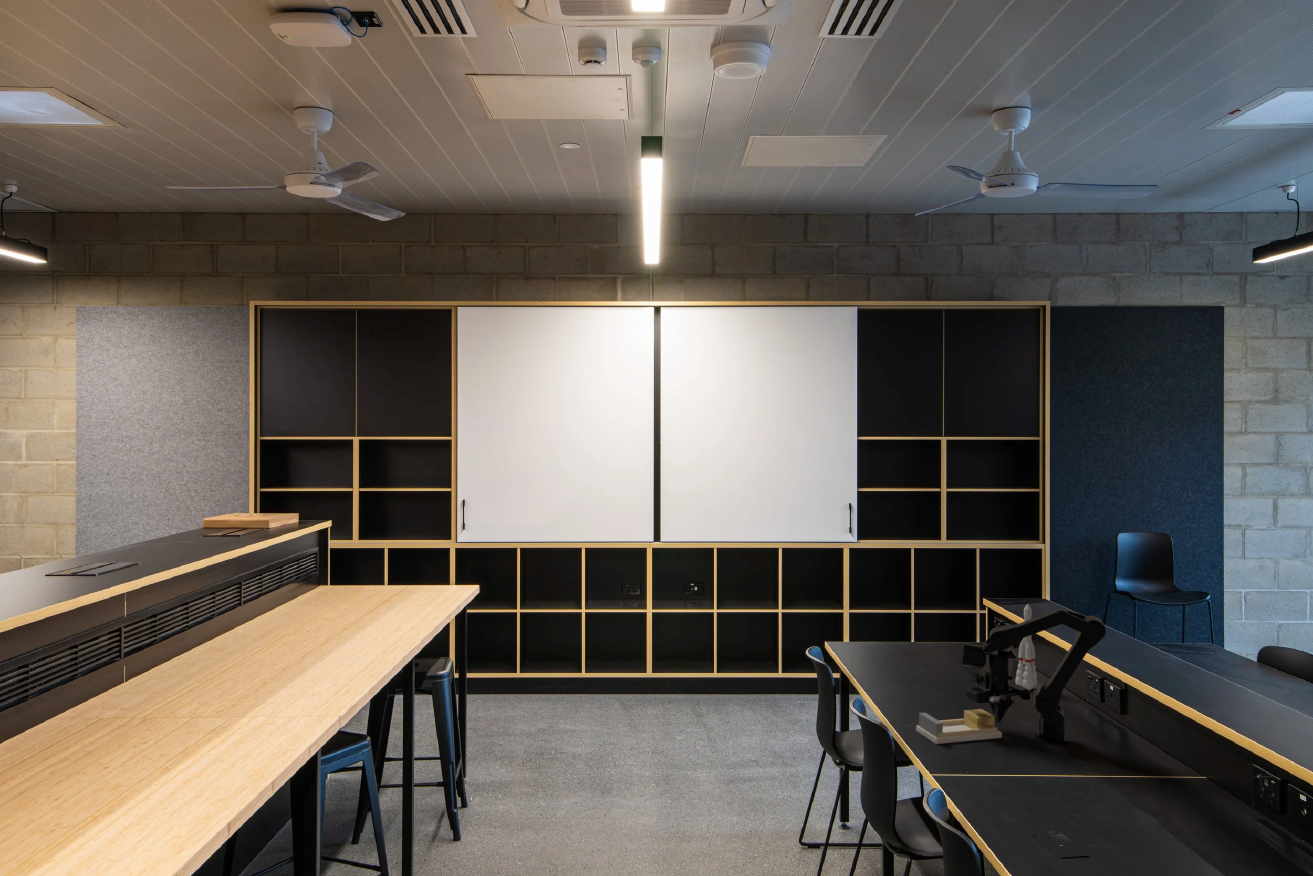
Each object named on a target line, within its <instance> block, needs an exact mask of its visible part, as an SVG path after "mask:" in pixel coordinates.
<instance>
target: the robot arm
mask: <svg viewBox="0 0 1313 876" xmlns="http://www.w3.org/2000/svg"><path fill="white" fill-rule="evenodd" d="M1060 625H1064V626H1067V627H1069V628H1070V629H1072V630H1074V631H1077V633H1076V635H1075V638H1074V641H1073V643H1072V645H1071V646H1070V648H1069V649H1068V651H1067V652H1066V654H1065V656H1064V657H1063V659H1062V660H1061V662H1060V663H1059V665H1058V666H1057V668H1056V670H1055V671H1054V672H1053V674H1052V676H1051V677H1050V679H1049V680H1047V681H1046V682H1045V683H1044V682H1043V681H1041V680H1040V681H1039V683H1038V684H1037V687H1036V688H1035V689H1033V691H1032V692H1033V702H1034V703H1033V704H1034V707H1035V709H1036V710H1037V712H1038V713H1039V714H1040V715H1039V719H1038V720H1039V721H1038V725H1039V726H1038V727H1039V728H1038V732H1037V733H1035V734H1034V736H1036V737H1037V738H1039V739H1041V740H1043V741H1045V742H1047V743H1048V744H1051V745H1052V744H1053V745H1055V744H1063V743H1070V740H1069V739H1067V738H1065V734H1066V733H1065V732H1066V731H1065V728H1066V727H1065V726H1066V722H1065V720H1066V719H1065V713H1064V710H1063V707H1062V706H1061V705H1060V702H1061V697H1062V695H1063V691H1064V689H1065V687H1066V686H1067V684H1068V683H1069V681H1070V680H1071V679H1072V678H1073V677H1072V676H1073V675H1074V674H1075V672H1076V670H1077V669H1078V667H1079V666H1080V665H1081V662H1082V661H1083V659H1084V658H1085V656H1086V654H1087V653H1088V652H1089V651H1090V650H1091V649H1093V648H1094V647H1095V646H1097V645H1098V643H1099V642H1101V641H1102V639H1103V638H1104V637H1105V636H1106V634H1107V630H1106V626H1105V624H1104V622H1103V621H1102V620H1101V619H1100V618H1099V617H1097V616H1095V615H1084V614H1081V613H1078V612H1074V611H1070V610H1068V609H1066V608H1064V607H1058V608H1056V609H1054V610H1051V611H1049V612H1046V613H1043V614H1041V615H1038V616H1035V617H1033V618H1031V619H1030V620H1027V621H1025V622H1024V621H1022V622H1020V623H1015V624H1007V625H1001V626H996V627H994V628H992V629H991V630H990V632H989V637H988V639H986V640H985V641H984V642H983V643H982V645H978V644H971V643H967V642H964V643H963V653H962V667H967V668H968V667H969V668H977V669H983V668H984V667H986V666H987V656H988V670H987V671H985V673H984V675H981V674H980V672H975V673H974V672H973V673H970V682H971V684H972V685H976V687H968V688H967V689H966V692H965V697H966V698H968V699H969V700H971V701H972V702H975V703H977V704H987V703H988V704H989V707H990V709H991V712H992V715H993V716H995V723H997V724H998V723H1001V721H1002V720H1003V718H1004V717H1005V715H1006V714H1007V712H1008V710H1009V709H1010V707H1011V706H1012V704H1015V700H1014V699H1012V697H1013V696H1019V698H1020V699H1021V700H1023V701H1027V700H1031V698H1032V697H1031V696H1032V694H1031V690H1029V689H1027V688H1024V687H1022V686H1020V685H1016V684H1011V685H1010V681H1012V680H1013V675H1010V661H1011V660H1010V659H1014V660H1015V659H1017V656H1018V655H1017V653H1015V651H1014V650H1013V649H1012V648H1011V647H1012V646H1014V645H1016V644H1017V643H1018V642H1020V641H1022V640H1023V638H1025V637H1027V636H1030V635H1031V636H1033V635H1036V634H1038V633H1041V632H1043V631H1046V630H1050V629H1052V628H1055V627H1058V626H1060ZM980 687H983V689H982V688H980ZM984 689H985V690H984Z"/></svg>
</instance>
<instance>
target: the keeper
mask: <svg viewBox="0 0 1313 876" xmlns="http://www.w3.org/2000/svg"><path fill="white" fill-rule="evenodd" d="M963 719H964V724H965V725H967V726H969V727H970V728H972V729H978V728H989V727H995V723H996V721H995V716H994V715H993V714H991V713H989V712H988V711H985V710H984V709H982V708H978V709H967V710H965V709H964V710H963Z"/></svg>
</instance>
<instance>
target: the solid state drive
mask: <svg viewBox="0 0 1313 876" xmlns="http://www.w3.org/2000/svg"><path fill="white" fill-rule="evenodd" d="M1050 831H1051V832H1050ZM1053 831H1054V830H1049V831H1044V832H1048V833H1053ZM1060 833H1062V832H1061V831H1060ZM1034 835H1040V836H1043V837H1042V838H1046V839H1051V838H1058V839H1062V840H1064V841H1067V842H1072V843H1074V841H1072V840H1071V839H1070V838H1068V837H1067V836H1066V835H1064V834H1063V833H1062V834H1044V835H1043V834H1034ZM1051 840H1053V839H1051ZM1051 840H1048V841H1051ZM1062 840H1059V841H1062ZM1052 842H1053V841H1052ZM1062 842H1063V841H1062ZM1067 842H1065V843H1067ZM1072 843H1070V844H1072ZM1059 846H1063V845H1059ZM1065 846H1069V845H1065ZM1077 846H1078V845H1077V844H1076V846H1075V847H1077ZM1071 847H1073V846H1071ZM1077 848H1080V849H1082V848H1081V847H1080V846H1078V847H1077Z"/></svg>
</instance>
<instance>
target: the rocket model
mask: <svg viewBox="0 0 1313 876" xmlns="http://www.w3.org/2000/svg"><path fill="white" fill-rule="evenodd" d="M1032 612H1033V611H1032V608H1031V606H1030V605H1029V603H1027V604H1026V605H1025V607H1024V608H1023V618H1024V619H1023V620H1024V621H1023V622H1025V621H1027V620H1030V619H1032V617H1033V616H1032ZM1018 649H1019V650H1018V655H1017V656H1018V658H1019V659H1018V661H1019V662H1018V664H1017V670H1016V674H1015V675H1016V676H1015V680H1014V683H1015V685H1020V686H1022V687H1024V688H1027V689H1029V691H1032V690H1036V689H1037V687H1038V684H1039V683H1038V679H1037V676H1038V673H1037V671H1036V669H1037V668H1036V665H1035V664H1036V663H1035V659H1036V653H1035V645H1034V643H1033V640H1032V635H1030V636H1027V637H1025V638H1023V639H1021V642H1020V645H1019V647H1018Z"/></svg>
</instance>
